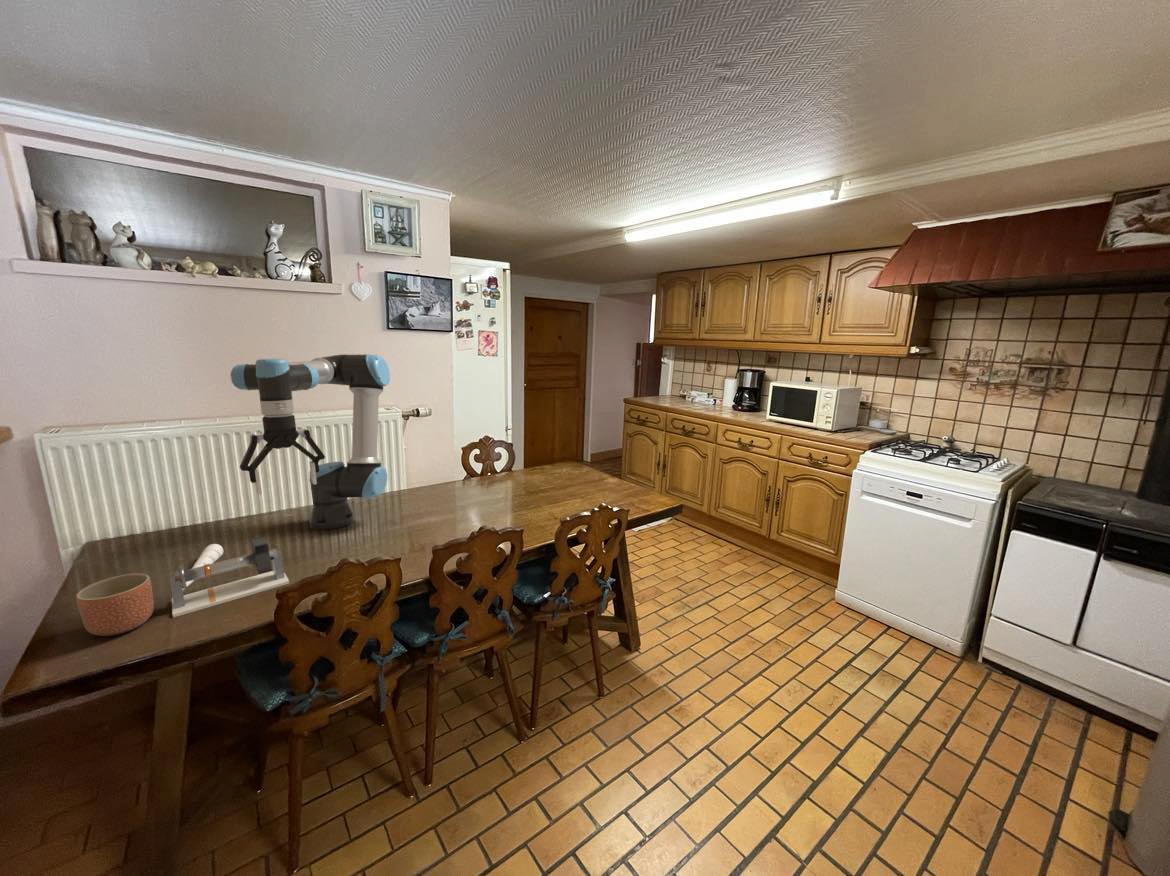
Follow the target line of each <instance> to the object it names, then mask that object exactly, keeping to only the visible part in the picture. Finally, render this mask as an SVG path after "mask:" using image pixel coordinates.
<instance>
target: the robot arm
mask: <svg viewBox="0 0 1170 876" xmlns="http://www.w3.org/2000/svg"><path fill="white" fill-rule="evenodd" d="M230 380H231V383H232V384H233V386H234V387H235V388H237V389H239V390H242V391H243V390H246V391H258V393H259V401H260V403H259V404H260V411H261V415H263V416H262V418H261V419H262V424H263V426H262V427H263V434H253V433H252V434H251V435H250V442H249V444H248V447H247V450H246V452H245V454H244V456H243V457H242V460H241V463H240V465H239V469H240V470H241V471H243V472H245V471H246V472H248V475H249V481H250V483H252V484H255V489H256V490H255V491H256V494H257V495H258V496H259V495H262V486H261V480H260V471H259V470H258V469H257V468H259V466H260V465H261V463H262V462H263V461H264V459H266V457H267V456H268V455H269V453H270V452H271V451H273V449H277V450H279V449H283V448H287V449H288V448H291V447H292V446H294V448H296V449H297V450H299V451H300V452H302V453H303V455H305V456H306V457H308V458H309V459H310V461H309V463H308V464H309V483H310V485H309V486H310V491H311V498H312V499H311V500H312V509H311V513H310V516H309V526H310V527H309V528H311V529H313V530H318V531H321V530H322V531H325V530H327V531H328V530H334V529H338V528H342V527H345V526H347V525H348V526H349V525H350V524H352V523H353V522H354V521H355V513H354V511H353V508H352V507H351V505H350V502H349V501H348V498H351V499H353V498H354V499H355V498H356V499H357V498H359V499H360V498H361V499H373V498H377V497H379V496H381V494H383V493H384V491H385V489H386V486H387V484H388V482H387V481H388V472H387V469H386V468H385V467H383V466H382V462H381V460H380V459H379V458H378V441H379V440H378V438H379V437H378V435H379V434H378V432H379V429H378V428H379V402H380V401H379V399H380V398H379V396H380V394H382V393H383V392H384V387H386V386H388V385H389V384H390V380H391V373H390V368H389V365H388V363H387V361H386V360H385V359H384V357H382V356H381V355H377V354H369V353H367V354H335V355H329V356H324V357H315V358H313V359H311V360H305V361H291V362H288V360H287V359H284V358H261V359H260V358H259V359H257V360H256V361H255V364H253V363H252V364H249V363H245V364H237V365H234V367H233V368H232V369H231V370H230ZM327 384H328V385H339V386H349V387H348V389H349V391H350V392H351V393H352V395H353V398H352V399H353V403H352V404H353V405H352V407H353V408H352V435H351V436H352V437H351V438H352V441H351V442H352V444H351V458H349V460H348V461H347V462H346V463H347V464H346V466H345V463H344V462H343V461H331V462H326V463H322V464H319V463H320V461H321V460H324V459H325V458H326V456H325V454H324V453H323V451H322V449H320V448H319V446H318V445H317V443H316V442H315V441H314V439H313V438H312V437H311V432H310V430H309V429H306V428H303V429H302V430H297V427H296V426H297V425H296V417H295V414H293V413H294V412H295V410H294V402H293V392H297V391H308V390H311V389H314V388H315V387H317V385H327ZM299 436H301V438H304V440H305V441H306V442H307V443H308V444H309V446H310V447H311V449H312V450H313V451H314V453H315V454H316V455H314V454H312V453H311V452H310V451H309V450H308V449H306V448H305V447H303V446H302V445H301V444H300V443H299V442H297V441H296V440H297V439H298V437H299ZM262 440H263V441H265V442H266V443H265V445H264V446H263V448H262V450H261V451H260V452H259V453H258V455H257V456H256V457H255V458H254V459H253V460H252V461H251V459H252V458H253V455H254V453H255V450H256V449H257V448H258V447H257V446H258V444H259V443H261V441H262ZM250 462H251V463H250Z"/></svg>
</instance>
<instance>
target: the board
mask: <svg viewBox="0 0 1170 876" xmlns="http://www.w3.org/2000/svg"><path fill="white" fill-rule="evenodd" d="M284 575H285V578H281V579H278V580H277V579H276V577H275V576H274V570H272V571H270V572H266V573H263V574H257V575H254V576H249V577H246V578H243V579H238V580H234V581H231V582H227V583H224V584H220V585H216V586H213V587H209V588H206V589H201V590H198V591H194V592H191V593H187V594H183V595H184V600H185V606H183V607H180V608H176V609H175V607H174V602H173V597H172V598H171V611H172V612H171V613H172V618H176V617H179V616H183V615H187V614H191V613H194V612H197V611H200V610H203V609H207V608H210V607H214V606H217V605H220V604H224V603H228V602H231V601H234V600H238V599H241V598H244V597H247V596H252V595H255V594H258V593H262V592H265V591H269V590H271V589H275V588H279V587H282V586H284V585H288V584H290V580H289V577H288V576H287V575H286V573H285V572H284Z"/></svg>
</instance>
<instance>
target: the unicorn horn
mask: <svg viewBox="0 0 1170 876" xmlns="http://www.w3.org/2000/svg"><path fill="white" fill-rule="evenodd" d="M223 554H224V547H222V546H221V545H220V544H217V543H211V544H209V545H207V546H206V547H205V548H204V550H203V551H202V553H201V554H200V556H199V557H198V558H197V560H196V562H195V563H194V564H193V566H192V568H191V569H193V568H197V567H201V566H203V565H207V564H213V563H216V561H217V560H218V559H219V558H221V556H222V555H223ZM193 582H194V580H192V581H188V582H186V586H187V587H189V586H190V585H191V584H192V583H193ZM185 589H186V588H184V589H183V591H184V590H185Z"/></svg>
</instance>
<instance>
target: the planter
mask: <svg viewBox="0 0 1170 876" xmlns="http://www.w3.org/2000/svg"><path fill="white" fill-rule="evenodd" d="M152 588H153V587H152V581H151V577H150V575H148V574H146V573H137V572H136V573H128V574H121V575H117V576H116V575H115V576H111V577H109V578H104V579H102V580H99V581H96V582H93V583H92V584H90V585H87V586H86V587H85V586H84V587H83V588H82V589H80V590H78V592H77V593H76V595H75V598H76V599H75V601H76V606H77V607H78V611H79V614H80V616H81V617H80V618H81V620H82V624H83V625H84V628H85V630H86V631H87V632H88V633H90V634H91V635H95V636H100V637H113V636H117V635H122V634H125V633H129V632H130V631H133V630H135V629H137V628H139V627H140V626H142V625H143V624H144V623H145V622H147V620H149V618H150V617H151V616H152V614H153V612H154V608H155V601H154V595H153V589H152Z"/></svg>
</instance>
